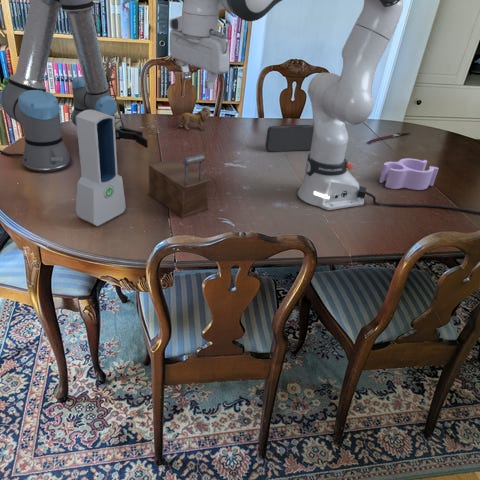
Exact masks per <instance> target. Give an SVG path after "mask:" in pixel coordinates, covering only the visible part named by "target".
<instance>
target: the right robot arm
mask: <svg viewBox="0 0 480 480" xmlns="http://www.w3.org/2000/svg"><path fill="white" fill-rule="evenodd" d="M282 1H283V0H183V4H182V8H181V15H180V16H176V17H173V18H170V19H169V28H170V29H171V30H170V32H169V54H170V56H171V58H173V59H175V60H178V61H179V67H180V70H181V72H182V73H181V78H182V79H183V80H186V81H190V80H191V79H192V72H191V71H190V68H189V65H191V66H193V67H197V68H198V69H202V70H204V71H206V72H207V76H208V78H207V80H205V81H204V88H205V89H207V90H213V89H214V87H215V81H216V80H217V78H218V76H219V75H224V74H227V73H228V72H229V70H230V47H229V40H228V38H227V36H226V35H225V33H224V32H221V31H219V16H220V11H221V10H226V11H227V12H229V13H231V14H233V15H235V16H236V17H237V18H239V19H240V20H242V21H245V22H256V21H258V20H260V19H262V18H263V17H264V16H266V15H267V14H268V13H269V12H271V10H272V9H273V8H274V7H275V6H276V5H278V4H279V3H280V2H282ZM403 9H404V4H403V0H363V6H362V10H361V12H360V14H359V16H358V17H357V19H356V21H355V23H354V25H353V27H352V29H351V31H350V33H349V35H348V36H347V39H346V41H345V43H344V45H343V47H342V49H341V57H342V69H341V73H340V75H338V74H336V73H334V72H333V73H332V72H320V73H317V74H316V75H314V76H313V77H312V78H311V79H310V81H309V83H308V87H307V96H308V98H309V100H310V104H311V110H312V111H311V112H312V125H313V138H312V144H311V150H309V153H308V155H307V159H306V163H305V172H304V176H303V179H302V182H301V185H300V186H299V189H298V191H297V197H299V199H300V200H302V201H303V202H305V203H307V204H309V205H312V206H316V207H319V208H321V209H324V210H326V211H334V210H340V209H341V210H342V209H346V208H352V207H358V206H363V205H364V204H365V196H366V195H367V196H369V197H371V198H372V203H373V204H374V205H377V206H383V207H421V208H423V207H425V208H438V209H447V210H448V209H449V210H456V211H461V212H466V213H473V214H478V215H480V211H479V210H474V209H469V208H462V207H456V206H449V205H442V204H426V203H379V202H378V201H376V200H377V199H376V196H375V195H373V194H372V193H371V192H368V191H367V188H368V187H365V186H360V184H359V182H358V180H357V178H355V176H354V175H353V174H352V173H351V172H349V171H352V170H354V168H355V167H354V164H353V163H352V162H349V161H348V160H347V159H346V158H345V156H346V152H347V147H348V143H349V133H348V131H347V128H346V124H347V125H353V126H357V125H360V124H363V123H365V121H367V120H368V119H369V118H370V117H371V114H372V113H373V110H374V99H373V93H372V90H373V82H374V77H375V74H376V70H377V67H378V65H379V64H380V62H381V59H382V57H383V55H384V53H385V51H386V49H387V47H388V45H389V43H390V42H391V40H392V37H394V34H395V31H396V29H397V27H398V24H399V22H400V19H401V16H402V13H403Z"/></svg>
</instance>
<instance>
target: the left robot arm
mask: <svg viewBox="0 0 480 480" xmlns="http://www.w3.org/2000/svg"><path fill="white" fill-rule="evenodd" d="M28 6H29V7H28V11H27V15H26V21H25V25H24V30H23V35H22V39H21V44H20V49H19V54H18V59H17V64H16V70H15V73H14V74H12V75H10V76H9V77H8V82H7V85H5V86H3V88H2V89H1V91H0V106H1V108H2V109H3V111H4V112H5V113H6V115H7V116H8V117H9V118H10V119H13V120H14V121H16V122H17V123H18V124H20V125H21V126H22V132H23V137H24V148H23V153H8V152H6V151H3V150H1V149H0V154H2V155H4V156H8V157H22V158H21V159H22V160H21V161H22V166H23V168H24V169H25V170H27V171H29V172H33V173H39V174H46V173H56V172H61V171H63V170H66V169H67V168H69V167H70V166H71V163H72V159H71V155H70V153H69V151H68V150H67V149H68V148H67V147H66V145H65V143H64V140H63V131H62V122H61V113H60V106H59V102H58V101H59V100H58V98H57V96H55V95H54V94H53V93H51V92H49V91H47V87H46V85H45V84H44V79H45V75H46V70H47V65H48V62H49V56H50V52H51V48H52V43H53V39H54V35H55V30H56V26H57V21H58V17H59V13H60V10H62V11H64V12H65V13H66V15H67V19H68V20H67V21H68V23H69V27H70V32H71V36H72V40H73V43H74V46H75V47H74V48H75V51H76V55H77V58H78V62H79V67H80V71H81V75H82V76H77V77H73V78H72V80H71V85H72V86H71V90H72V98H73V99H72V100H73V110H72V111H71V114H70V120H71V123H73V125H75V127H77V124H76V116H77V115H78V114H79V113H80V112H82V111H85V110H96V111H99V112H102V113H105V114H108V115H111V116H113V115H114V116H115V114H116V113H117V111H118V109H117V103H116V100H115V98H113V97H114V96H112V97H111V96H110V92H109V88H108V87H109V85H108V84H107V79H106V72H105V68H104V67H105V64H104V65H103V63H104V62H103V55H102V52H101V51H102V50H101V48H100V43H99V39H98V38H99V37H98V34H97V29H96V25H95V20H94V14H93V11H92V10H93V8H94V7H95V4H94V0H30V1H29V5H28ZM143 133H144V132H143V131H141V130H138V129H132V128H127V127H125V126H124V127H122V125H120V126H119V128H116V129H115V138H116V140H117V141H118V140H119V141H120V140H130V141H135V143H138V145H140V146H142V147H143V148H146V149H147V148H148V145H149V144H148V139H146V138H145V137H144V134H143Z"/></svg>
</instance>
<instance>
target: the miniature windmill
mask: <svg viewBox="0 0 480 480" xmlns="http://www.w3.org/2000/svg"><path fill="white" fill-rule="evenodd" d="M108 56H109V57H108ZM103 65H104V70H105V74H106V79H107V84H108V88H109V92H110V96H111V97H113V99H115V101H116V103H117V111H118V112H117V113H118V115H119V117H117V116H115V114H114V115H113V116H114V120H115V121H116V119H118V121H117V122H115V129H117V126H116V125H118V123H121V126H122V127H125V125H124V124H125V123H124V121H123V120H124V118H123V117H122V113H121V110H120V105H119V102H118V98H117V95H116V91H115V86H114V85H115V84H114V83H113V81H116V80H117V77H114V76H113V75H114V73H115V72H114V71H116V69H115V67H116V65H115V59H114V55H112V52H108V53H107V54H106V56H105V59H104V62H103ZM111 89H112V91H111ZM112 92H113V94H112Z"/></svg>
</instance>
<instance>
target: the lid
mask: <svg viewBox="0 0 480 480" xmlns="http://www.w3.org/2000/svg"><path fill="white" fill-rule="evenodd" d="M204 161H206V157H205V154H203V153H201V154H196V155H191V156H189V157H184V158H183V160H182V161H181V162H180V161H179V160H177V159H176V158H171V159H167V160H163V161H159V162H155V163H150V164H148V169H149V168H150V169H152V170H153V171H155V172H157V173H158V174H160V175H161V176H163V177H164V178H166V179H167V180H169V181H170V182H172V183H174V184H175V185H177V186H178V187H180V188H181V189H183V190H187V189H191V188H194V187H197V186H200V185H204V184H207V183H209V184H210V183H211V179H209V178H208V177H206V176H205V175H203V165H204ZM197 163H199V165H198V168H199V169H198V171H196V170H194V169H193V168H191V167H190V165H194V164H197Z"/></svg>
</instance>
